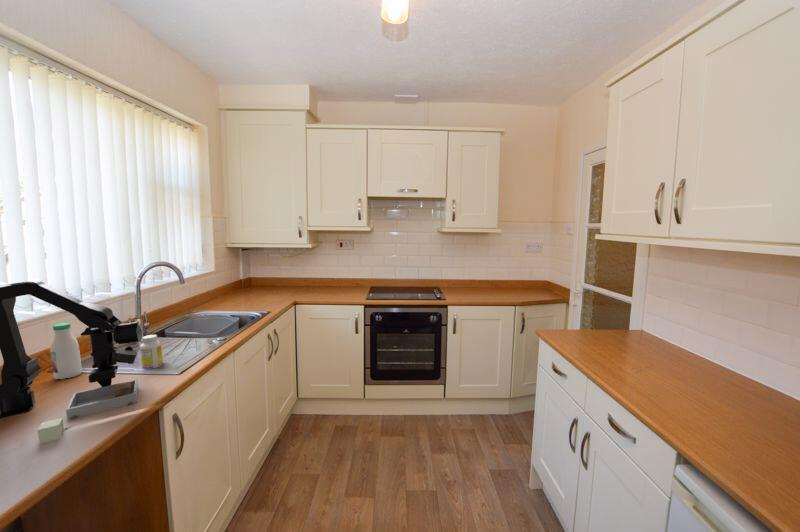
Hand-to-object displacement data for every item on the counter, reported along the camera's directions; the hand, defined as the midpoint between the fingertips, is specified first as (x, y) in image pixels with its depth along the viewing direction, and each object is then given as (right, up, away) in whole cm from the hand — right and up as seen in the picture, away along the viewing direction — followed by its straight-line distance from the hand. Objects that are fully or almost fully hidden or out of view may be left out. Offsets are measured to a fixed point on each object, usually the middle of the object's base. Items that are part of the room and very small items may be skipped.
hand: (108, 390), depth 115 cm
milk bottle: (-28, 0, +15) cm, 32 cm away
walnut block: (+8, -1, -3) cm, 9 cm away
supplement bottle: (-1, +1, +22) cm, 22 cm away
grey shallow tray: (+4, -2, -6) cm, 8 cm away
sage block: (+4, -5, -22) cm, 23 cm away
